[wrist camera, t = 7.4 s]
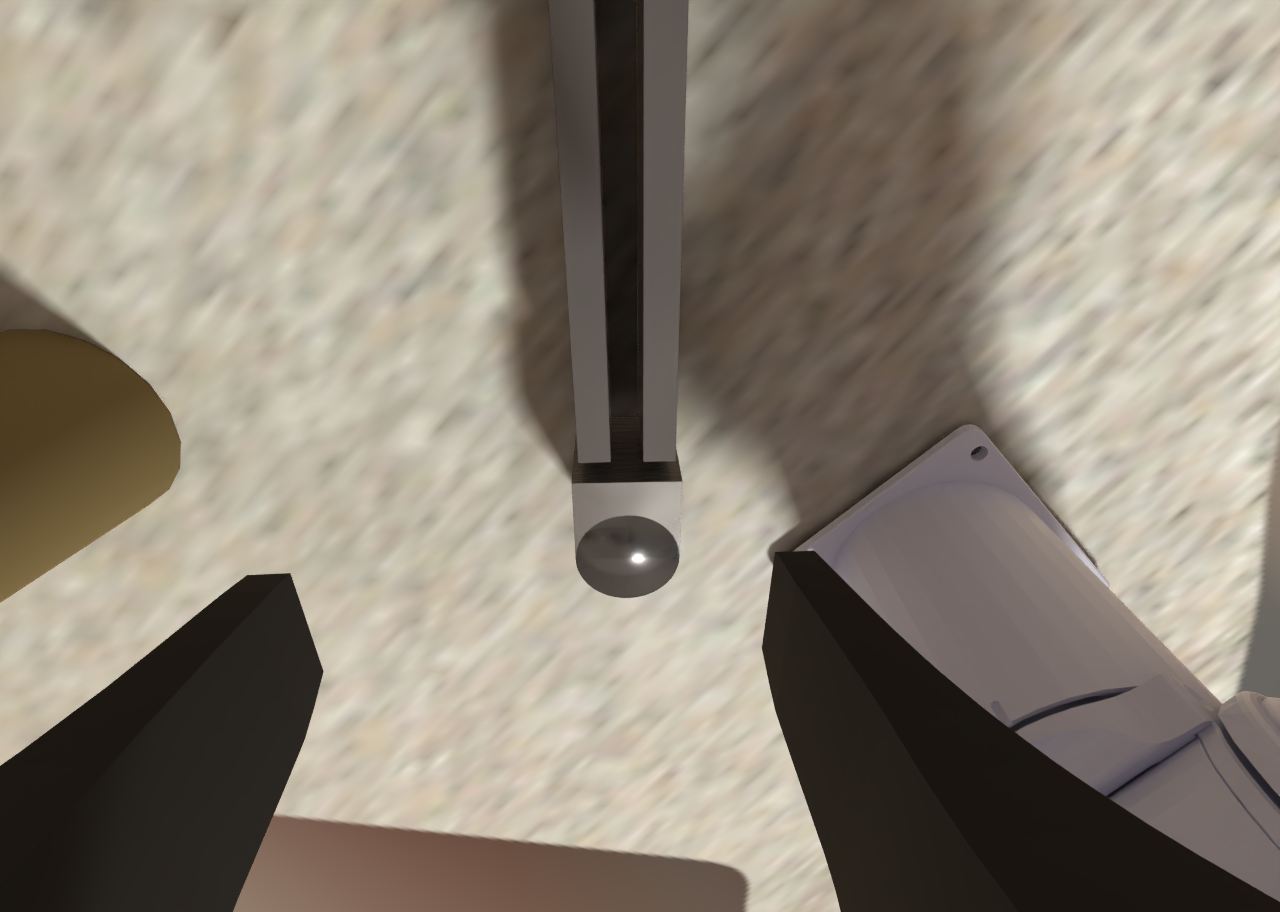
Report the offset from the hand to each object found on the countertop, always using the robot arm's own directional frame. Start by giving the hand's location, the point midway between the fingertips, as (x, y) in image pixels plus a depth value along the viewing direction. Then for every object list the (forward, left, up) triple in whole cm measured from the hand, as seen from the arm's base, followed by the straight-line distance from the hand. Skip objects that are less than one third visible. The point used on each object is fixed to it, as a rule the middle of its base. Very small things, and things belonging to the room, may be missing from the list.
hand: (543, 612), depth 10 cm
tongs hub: (-4, +2, -10) cm, 11 cm away
